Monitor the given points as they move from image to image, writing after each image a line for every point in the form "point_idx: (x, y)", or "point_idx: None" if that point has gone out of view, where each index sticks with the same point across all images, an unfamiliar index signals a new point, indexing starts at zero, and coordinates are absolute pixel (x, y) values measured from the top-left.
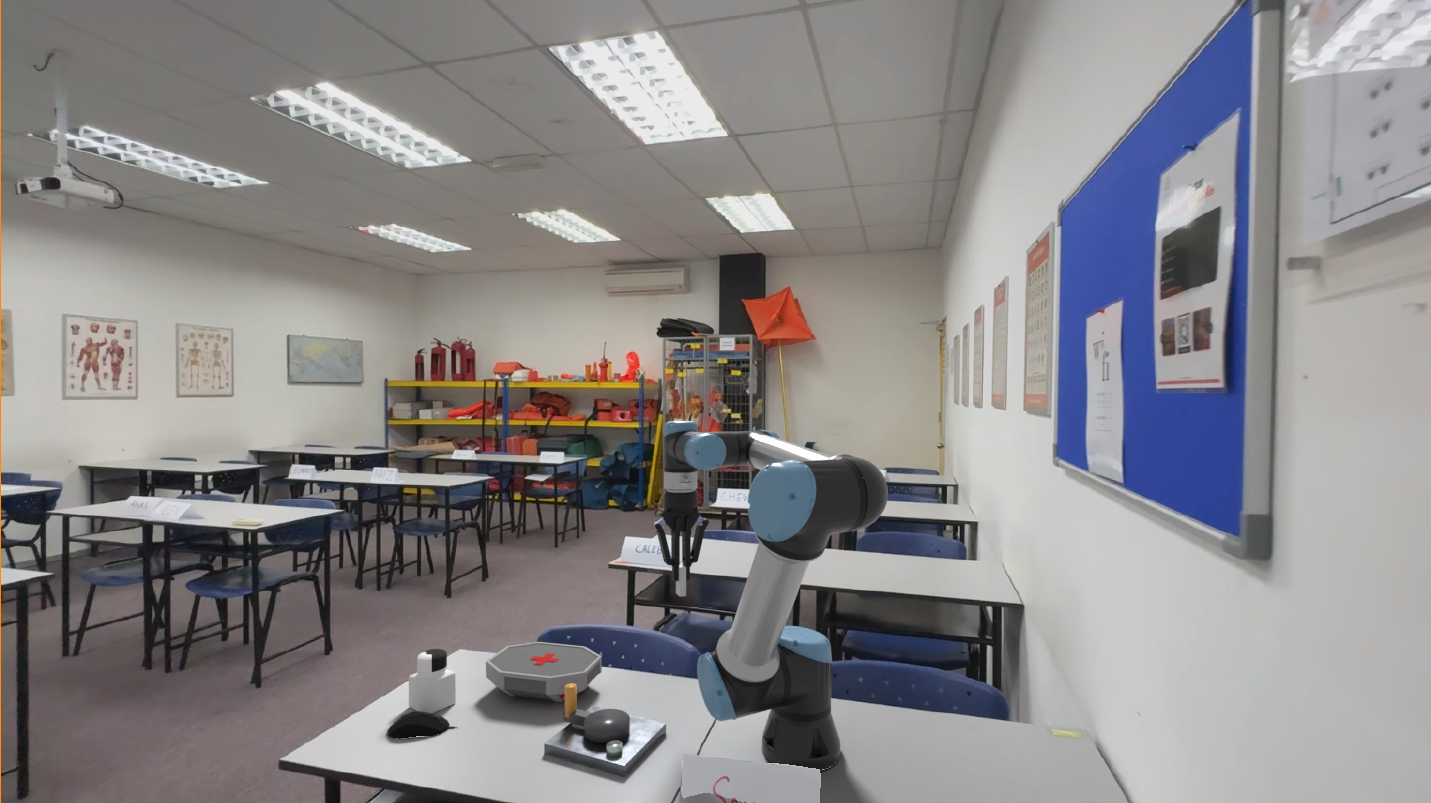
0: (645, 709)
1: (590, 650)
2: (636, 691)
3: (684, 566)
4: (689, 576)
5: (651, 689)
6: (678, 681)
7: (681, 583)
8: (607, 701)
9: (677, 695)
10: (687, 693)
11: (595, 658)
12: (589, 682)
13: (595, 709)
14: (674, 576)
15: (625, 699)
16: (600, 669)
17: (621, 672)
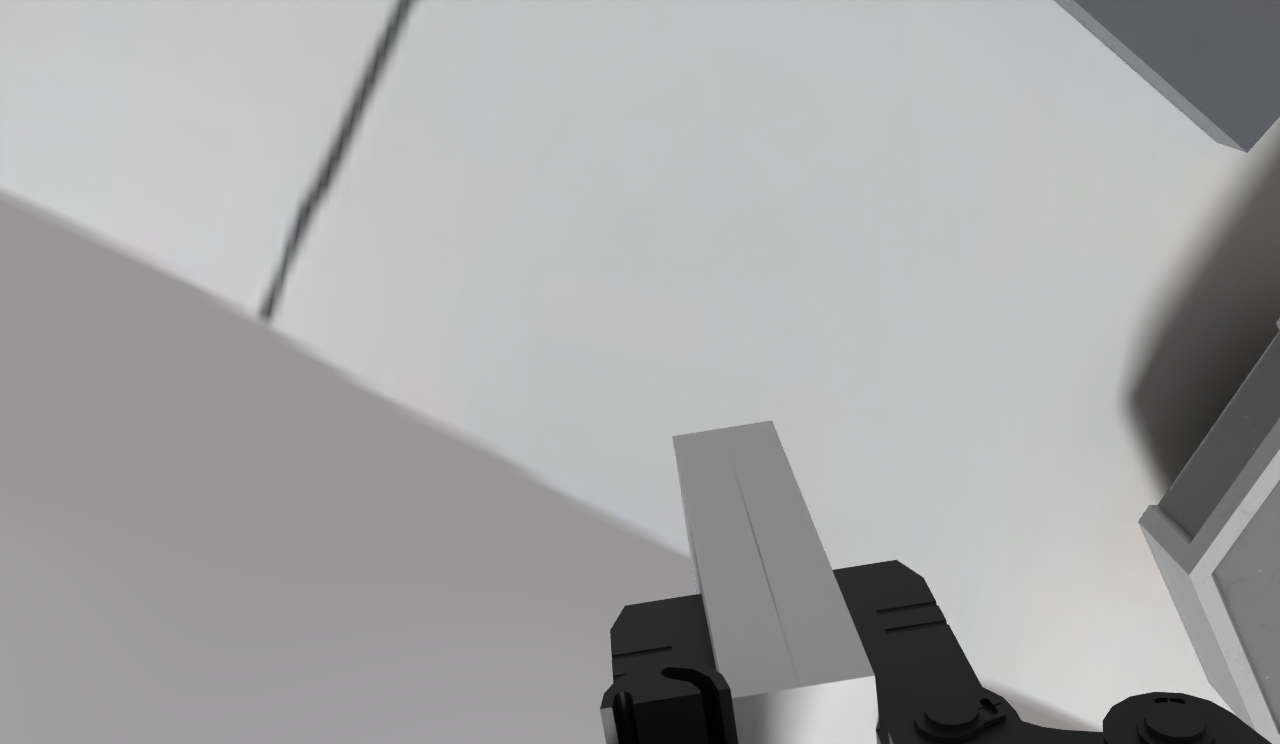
0: (886, 138)
1: (1241, 679)
2: (898, 382)
3: (750, 733)
4: (619, 637)
5: (800, 388)
6: (611, 458)
7: (775, 514)
8: (1096, 292)
9: (650, 276)
10: (580, 289)
11: (1231, 558)
12: (1253, 373)
13: (1239, 96)
14: (922, 608)
15: (984, 294)
16: (1159, 518)
17: None
